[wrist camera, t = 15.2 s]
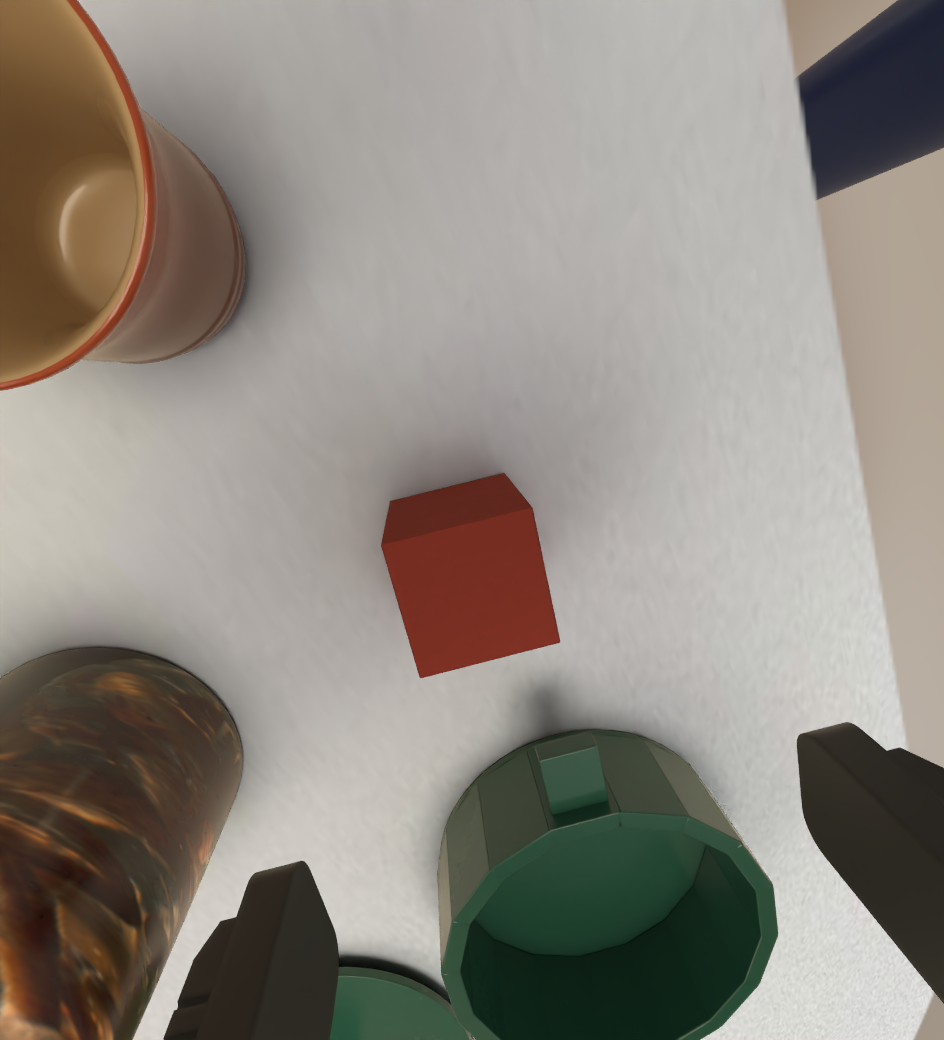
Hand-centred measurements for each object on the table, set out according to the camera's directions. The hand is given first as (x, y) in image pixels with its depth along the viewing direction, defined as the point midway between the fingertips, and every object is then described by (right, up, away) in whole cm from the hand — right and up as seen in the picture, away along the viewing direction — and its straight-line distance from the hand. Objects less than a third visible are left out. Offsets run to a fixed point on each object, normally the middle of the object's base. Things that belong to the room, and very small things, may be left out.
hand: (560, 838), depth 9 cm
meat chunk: (-2, +4, +16) cm, 16 cm away
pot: (+4, -12, +21) cm, 24 cm away
